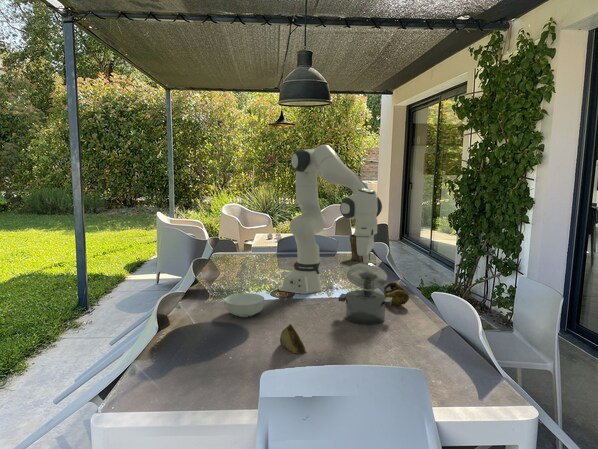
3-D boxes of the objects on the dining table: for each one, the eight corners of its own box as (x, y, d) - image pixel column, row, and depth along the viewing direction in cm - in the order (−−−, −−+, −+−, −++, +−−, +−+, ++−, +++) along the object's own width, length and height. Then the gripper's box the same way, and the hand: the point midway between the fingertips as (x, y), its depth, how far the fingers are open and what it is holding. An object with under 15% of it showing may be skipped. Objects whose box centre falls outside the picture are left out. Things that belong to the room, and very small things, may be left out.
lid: (344, 263, 182) (345, 257, 184) (349, 287, 194) (350, 281, 196) (385, 266, 177) (386, 259, 179) (388, 290, 189) (388, 284, 191)
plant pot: (374, 262, 292) (375, 237, 290) (350, 262, 292) (350, 237, 290) (371, 257, 308) (371, 234, 306) (347, 257, 309) (348, 234, 306)
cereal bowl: (232, 323, 180) (231, 306, 179) (219, 311, 194) (219, 296, 194) (270, 317, 188) (270, 300, 187) (256, 306, 202) (255, 290, 201)
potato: (399, 300, 209) (400, 284, 208) (411, 309, 196) (411, 291, 195) (382, 301, 207) (383, 285, 206) (393, 310, 195) (393, 292, 194)
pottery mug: (408, 300, 210) (401, 287, 208) (389, 308, 212) (382, 295, 209) (403, 287, 221) (397, 274, 219) (386, 295, 223) (379, 282, 221)
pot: (335, 321, 181) (335, 298, 180) (344, 308, 197) (344, 287, 196) (388, 327, 174) (389, 303, 173) (393, 313, 191) (393, 291, 190)
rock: (272, 337, 159) (274, 344, 149) (285, 317, 160) (289, 323, 150) (296, 354, 160) (300, 362, 150) (310, 334, 161) (315, 341, 151)
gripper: (362, 225, 191) (362, 257, 193) (353, 232, 172) (353, 267, 173) (377, 226, 189) (377, 258, 191) (370, 232, 170) (369, 268, 171)
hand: (365, 262), depth 182 cm, fingers closed
